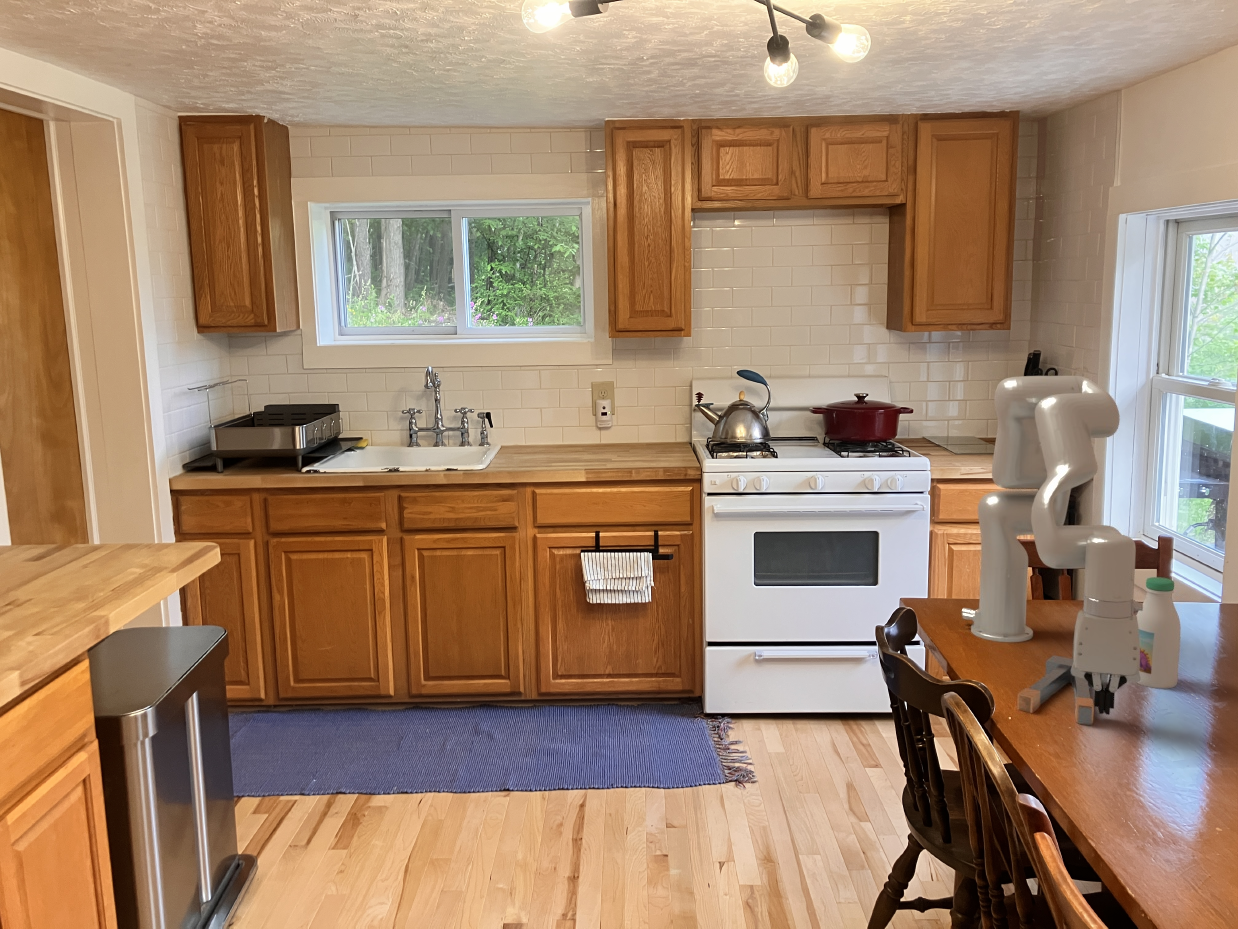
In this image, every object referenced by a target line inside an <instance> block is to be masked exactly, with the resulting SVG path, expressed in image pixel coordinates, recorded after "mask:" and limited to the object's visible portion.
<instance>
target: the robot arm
mask: <svg viewBox="0 0 1238 929" xmlns="http://www.w3.org/2000/svg"><path fill="white" fill-rule="evenodd" d="M993 401H994V408H995V413H996V417H997V431H996V437H995V438H996V439H995V444H994V450H993V451H994V452H993V457H992V466H991V478H992V481H993V483H994V484H995V485H996V486H997V487H999V488H1001V489H1006V490H995V491H992V492H989V493H986V494H985V495H983V496H982V497H981V498H980V500H979V502H978V505H977V514H978V515H977V516H978V523H979V532H980V576H979V577H980V578H979V580H980V581H979V583H980V584H979V603H978V604H979V606H978V608H977V609H972V608H968V607H963V608H962V610H961V616H962V619H964V620H968V621H969V620H971V621H972V622H973V623H972V624H971V626H970V632H971V633H972V634H973V635H974V636H976V637H978V638H980V639H984V640H987V641H992V642H999V643H1020V642H1022V643H1023V642H1026V641H1029V640H1031V639H1032V638H1033V636H1034V631H1033V630H1032V628H1031V627H1029V626H1027V625H1026V620H1027V599H1028V598H1027V595H1028V574H1029V573H1028V571H1029V570H1028V569H1029V556H1028V552H1027V550H1026V549H1025V547H1024V546H1023V545H1022V544H1021V543H1020V541H1019V539H1018V537H1019V536H1033V537H1034V543H1035V547H1036V551H1037V554H1038V557H1039V558H1040V560H1041V562H1042V563H1043V564H1044V565H1045V566H1047V567H1049V568H1051V569H1084V585H1083V586H1084V588H1083V589H1084V590H1083V609H1081V610H1080V609H1079V611H1078V612H1077V616H1076V620H1075V621H1076V622H1075V625H1074V634H1073V644H1072V659H1073V661H1074V662H1073V665H1072V668H1071V674H1072V675H1073V676H1076V677H1080V678H1083V679H1086V680H1087V681H1088V682H1089V683H1090V684H1091V685H1092V686H1093V687H1094V688H1093V690H1094V700H1093V704H1094V708H1097V709H1098V714H1100V715H1103V714H1105V715H1108V716H1109V715H1110V713H1111V710H1112V709H1113V710H1114V709H1115V693H1116V692H1118V689H1120V688H1122V686H1124V685H1126V684H1127V683H1129V684H1131V683H1136V682H1139V681H1140V680H1141V678H1140V673H1139V668H1140V638H1139V628H1138V620H1137V614H1134V613H1136V612H1138V611H1143V603H1144V602H1138V601H1136V600H1135V599H1134V594H1135V572H1136V571H1135V570H1136V552H1137V550H1136V543H1135V541H1134V539H1133V538H1131V537H1130V536H1128V535H1125V534H1122V533H1121V532H1120V530H1119V529H1117V528H1115V527H1113V526H1112V525H1111V526H1110V525H1106V524H1105V525H1104V524H1096V525H1095V524H1092V525H1090V524H1089V525H1088V524H1087V525H1086V524H1085V525H1084V524H1083V525H1081V524H1080V525H1075V524H1074V525H1072V524H1071V525H1064V523H1065V521H1066V517H1067V512H1068V506H1069V500H1070V495H1071V491H1072V489H1073V488H1076V487H1078V486H1080V485H1082V484H1084V483H1086V482H1088V481H1090V480H1091V479H1092V478H1094V477H1095V476H1096V474H1097V473H1098V471H1099V470H1098V468H1099V467H1098V463H1097V458H1096V455H1095V450H1094V447H1093V443H1092V439H1104V438H1105V439H1106V438H1109V437H1112V436H1113V435H1114V434H1116V433H1117V431H1118V429H1119V425H1120V420H1121V418H1120V417H1121V416H1120V412H1119V407H1118V405H1117V403H1116V401H1115V399H1114V398H1113V397H1112V395H1111V394H1110V393H1109V392H1108V391H1107V390H1105V389H1104V388H1103V387H1101V386H1099V384H1097V383H1096V382H1094V381H1093V380H1091V379H1090V378H1088V377H1085V376H1081V375H1026V376H1025V375H1024V376H1022V375H1021V376H1011V377H1006V378H1004V379H1002V380H1001V381H1000V382H999V383H998V384H997V387H996V389H995V391H994V400H993ZM1100 674H1108V683H1107V684H1106V685H1105V686H1104V687H1103V684H1102V683H1101V679H1100Z"/></svg>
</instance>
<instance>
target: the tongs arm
mask: <svg viewBox="0 0 1238 929" xmlns="http://www.w3.org/2000/svg"><path fill="white" fill-rule="evenodd" d="M1072 688H1073V693H1074V701H1075V711H1074V716H1075V723H1077V724H1078V725H1083V726H1092V725H1094V713H1095V712H1094V710H1095V707H1094V700H1093V698H1091V693H1090V687H1088V681H1087V680H1086V679H1083V678H1080V677H1076V676H1073V683H1072Z"/></svg>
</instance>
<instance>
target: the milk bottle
mask: <svg viewBox="0 0 1238 929" xmlns="http://www.w3.org/2000/svg"><path fill="white" fill-rule="evenodd" d="M1174 590H1175V581H1174V580H1172V579H1170V578H1166V577H1159V576H1157V577H1156V576H1154V577H1153V576H1152V577H1151V576H1150V577H1147V579H1146V581H1145V591H1146V596H1145V599H1144V601H1143V602H1142V603H1143V611H1139V610H1138V611H1137V613H1136V616H1137V620H1138V628H1139V638H1140V668H1139V673H1140V678H1141V680H1140V681H1139V682H1135V683H1136V684H1138V685H1141V686H1143V687H1148V688H1152V689H1153V688H1154V689H1163V690H1165V689H1172V688H1175V687H1176V686H1177V685H1178V681H1179V680H1178V679H1179V663H1180V653H1181V651H1180V650H1181V648H1180V647H1181V621H1180V620H1181V619H1180V617H1179V614H1178V611H1177V609H1176V607H1175V604H1174V600H1173V594H1174V593H1175V592H1174Z"/></svg>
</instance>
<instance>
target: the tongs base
mask: <svg viewBox="0 0 1238 929" xmlns="http://www.w3.org/2000/svg"><path fill="white" fill-rule="evenodd" d="M1073 662H1074V661H1073V658H1069V657H1064V656H1061V655H1060V656H1059V655H1054V654H1053V655H1052V656H1051V657H1049V658H1048V659H1047V660H1046V661H1045V675H1044V676H1043V677H1041V678H1040V679H1039V680H1037V681H1036V682H1035V683H1034V684H1032V685H1031V686H1030V687H1025V688H1024V689H1022V690H1021V691H1019V692H1018V693H1017V707H1016V710H1018V711H1021V712H1025V713H1029V714H1033V713H1034V712H1036V711H1037V710H1039V708H1040V706H1041V705H1042V704H1043V703H1044V702H1046V701H1047V700H1049V699H1050V697H1052V696H1053V695H1054V694H1056V693H1057V692H1058V691H1060V690H1061V689H1063V687H1064V686H1065V685H1067V684H1068V683H1071V684H1073V675H1072V674H1071V668H1072V665H1073ZM1100 679H1101V683H1102V684H1103V687H1104V688H1105V687H1106V684H1108V681H1109V674H1100ZM1088 687H1089V688H1092V689H1094V687H1093V686H1092V685H1091V684H1090V683H1089V682H1088Z"/></svg>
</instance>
